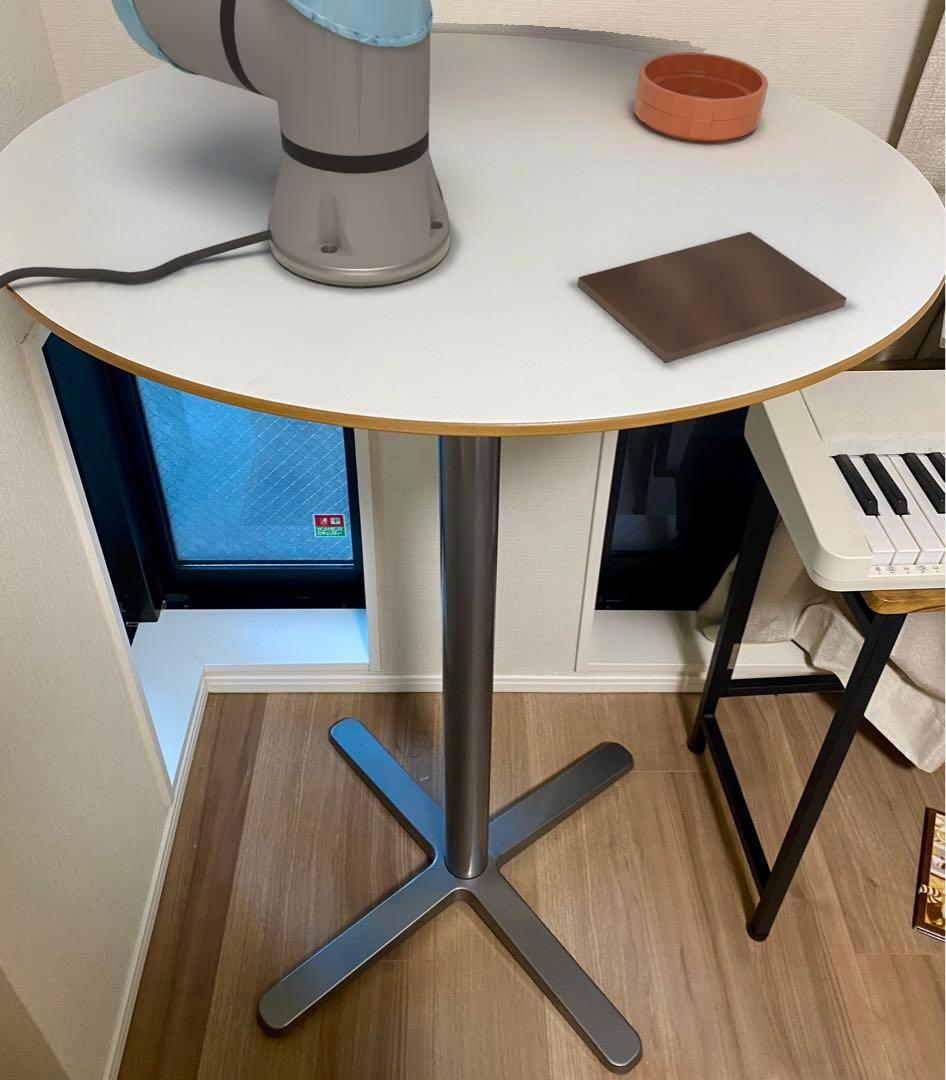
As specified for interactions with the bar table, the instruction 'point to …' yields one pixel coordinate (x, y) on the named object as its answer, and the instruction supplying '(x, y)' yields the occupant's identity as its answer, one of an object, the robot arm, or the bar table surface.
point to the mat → (709, 295)
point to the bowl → (699, 96)
